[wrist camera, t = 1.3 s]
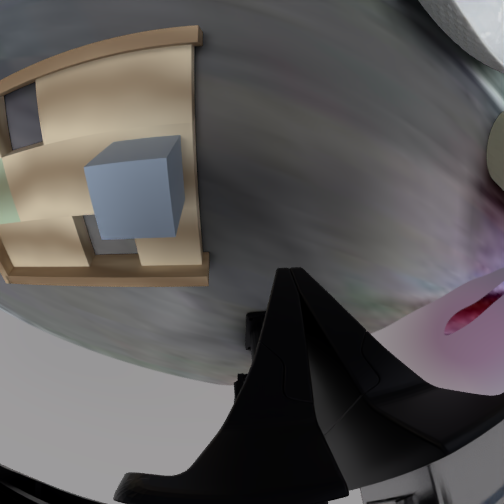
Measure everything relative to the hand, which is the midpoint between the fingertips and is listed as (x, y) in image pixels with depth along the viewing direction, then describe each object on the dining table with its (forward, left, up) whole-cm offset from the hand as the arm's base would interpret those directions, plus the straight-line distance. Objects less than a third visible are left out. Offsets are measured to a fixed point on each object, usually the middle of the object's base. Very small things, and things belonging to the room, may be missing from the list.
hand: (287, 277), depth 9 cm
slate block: (0, +7, -10) cm, 12 cm away
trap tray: (0, +14, -12) cm, 18 cm away
